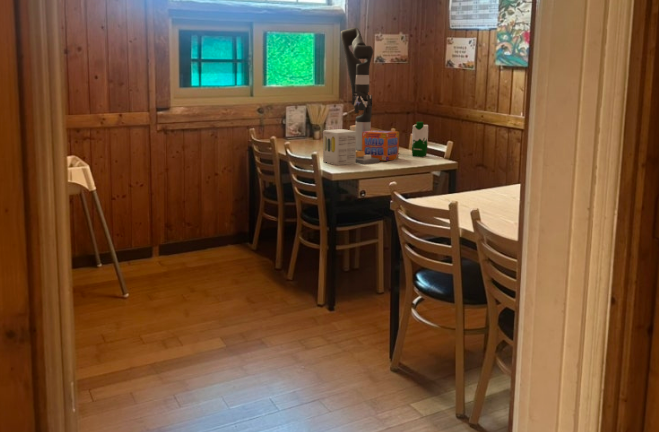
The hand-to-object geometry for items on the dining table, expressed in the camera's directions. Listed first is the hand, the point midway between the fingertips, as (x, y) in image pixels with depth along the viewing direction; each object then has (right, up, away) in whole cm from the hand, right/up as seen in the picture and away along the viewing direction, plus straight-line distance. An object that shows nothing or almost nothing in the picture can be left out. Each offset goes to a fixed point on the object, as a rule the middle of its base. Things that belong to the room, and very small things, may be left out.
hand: (361, 113), depth 389 cm
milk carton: (+35, -21, +27) cm, 49 cm away
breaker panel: (0, -26, +6) cm, 26 cm away
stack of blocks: (+6, -11, +69) cm, 70 cm away
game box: (+11, -24, +15) cm, 30 cm away
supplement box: (-12, -27, +1) cm, 30 cm away
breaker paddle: (0, -24, +6) cm, 24 cm away
